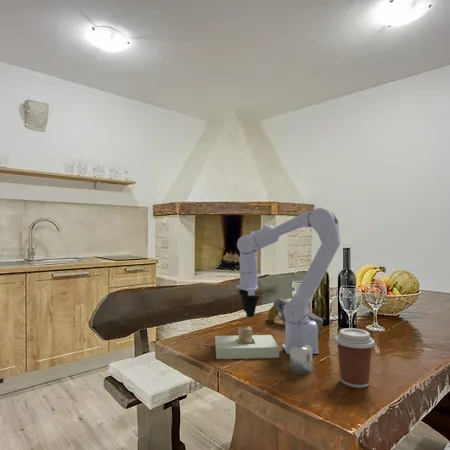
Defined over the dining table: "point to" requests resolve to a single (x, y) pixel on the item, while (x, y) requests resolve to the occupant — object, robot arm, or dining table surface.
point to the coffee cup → (354, 356)
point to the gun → (279, 308)
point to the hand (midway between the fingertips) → (248, 313)
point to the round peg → (301, 358)
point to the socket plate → (246, 347)
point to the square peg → (245, 335)
